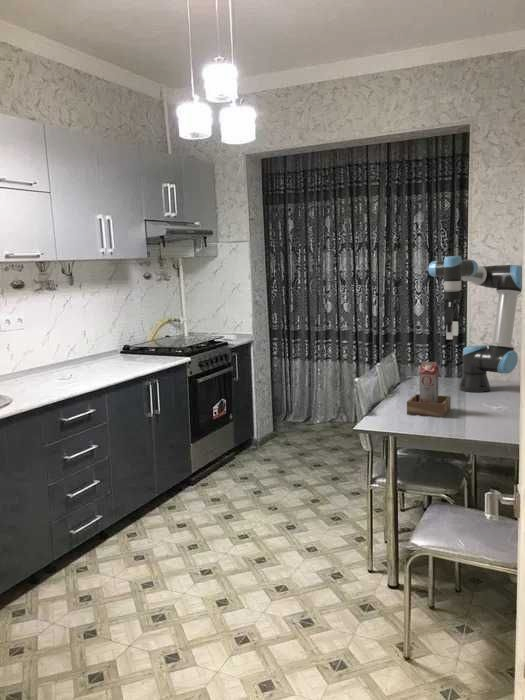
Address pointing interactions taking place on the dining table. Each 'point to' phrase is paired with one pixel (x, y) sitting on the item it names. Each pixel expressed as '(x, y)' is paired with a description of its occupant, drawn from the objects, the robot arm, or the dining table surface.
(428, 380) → the juice carton
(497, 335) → the robot arm
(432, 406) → the walled box
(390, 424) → the dining table surface
